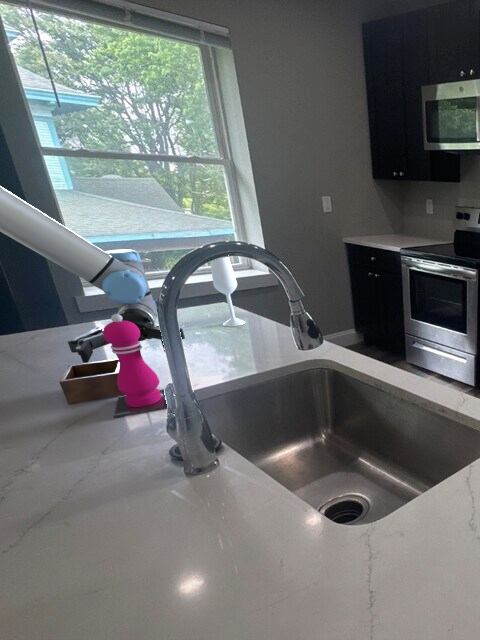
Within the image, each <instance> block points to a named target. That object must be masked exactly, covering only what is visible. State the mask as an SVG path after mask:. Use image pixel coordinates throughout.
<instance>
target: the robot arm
mask: <svg viewBox="0 0 480 640" xmlns="http://www.w3.org/2000/svg"><path fill="white" fill-rule="evenodd" d="M0 233H2V234H4V235H6V236H7V237H9V238H11V239H12V240H14V241H16V242H17V243H20V244H21V245H23V246H25V247H27V249H30V250H32V251H34V252H35V253H37V254H39V255H41V256H42V257H44V258H46V259H47V260H49V261H51V262H53V263H54V264H56V265H57V266H60V267H61V268H63V269H65V270H66V271H68V272H70V273H72V274H74V275H75V276H77V277H79V278H80V279H82V280H84V281H86V282H87V283H89V284H91V285H93V287H95V288H97V289H99V290H100V291H102V292H103V293H104V294H105V295H106V296H107V298H108V299H109V300H111V301H112V302H114V303H116V306H117V309H118V312H117V313H116V314H119V315H121V316H122V320H123V321H129V322H132V323H134V324H135V325H136V326H137V327H138V328H139V330H140V337H139V339H138V341H140V342H143V341H146V340H152V339H156V340H160V343H161V345H162V348H163V352H164V353H166V352H165V350H164V345H163V341H162V336H161V332H160V328H159V323H158V324H156V320H157V317H158V314H157V309H158V305H157V303H156V302H155V300H154V298H153V294H152V291H151V289H150V285H149V283H148V279H147V274H146V271H145V268H144V263H143V261H142V259H141V256H140V253H139V252H138V251H137V250H134V249H112V250H106V251H104V250H103V249H101V248H100V247H98V246H97V245H95V244H93V243H92V242H90V241H89V240H87V239H86V238H84V237H82V236H81V235H79V234H77V233H76V232H74V231H73V230H71V229H70V228H68V227H67V226H65V225H63V224H61V222H60V223H59V222H58V221H56V219H54V218H52V217H50V216H49V215H47V214H46V213H44V212H42V211H41V210H39V209H38V208H36V207H35V206H33V205H31V204H29V203H28V202H26V200H23V199H21V198H20V197H18V196H17V195H16V194H14V193H12V192H11V191H9V190H8V189H6V188H4V187H2V186H1V185H0ZM180 332H181V337H182V340H185V339H186V336H185V333H184V329H183V328H182V327H180ZM67 344H68V347H69V350H70V352H71V353H74V354H75V353H77V356H80V359H81V361H82V364H83V363H89V362H90V359H91V357H92V355H93V353H94V350H96V349H99V348H102V347H104V346H107V345H109V344H110V343H109V342H107V341H106V340H105V338H104V336H103V328H102V327H100V326H96V327H93V328H92V329H91V330H89V331H87V332H84V333H82V334H80V335H78V336H76V337H74V338H71V339H69V340H67ZM110 345H111V344H110Z"/></svg>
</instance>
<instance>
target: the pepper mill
mask: <svg viewBox="0 0 480 640" xmlns="http://www.w3.org/2000/svg"><path fill="white" fill-rule="evenodd" d="M110 319H111V321H110V322H109V323H107V324H105V326H104V327H103V328H102V330H103V336H104V338H105V340H106V341H107V342H109V343H110V349H111V352H112V353H113V354H114V355H116V357H117V359H118V360H119V364H120V368H119V373H118V378H117V385H118V389H119V390H120V391H121V392H122V393H124V394H126V395H124V396H125V400H126V403H127V405H128V406H130V407H143V406H148V405H151V404H154V403H156V402H158V401H159V400H160V399H161V393H160V390H161V389H159V388H158V386H159V385H160V379H159V377H158V375H157V373H156V372H155V370H154V369H152V368H151V367H150V366H149V365H148V364H147V362H146V361H145V360H144V358H143V356H142V352H141V350H142V348H143V345H141V344H142V343H141V341H138V339H139V337H140V330H139V328H138V327H137V326H136V325H135V324H134V323H132V322H129V321H123V320H122V316H121V315H119V314H117V313H114V314H112V315H111V316H110Z"/></svg>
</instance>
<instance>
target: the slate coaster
mask: <svg viewBox="0 0 480 640" xmlns="http://www.w3.org/2000/svg"><path fill="white" fill-rule="evenodd" d="M164 389H165V388H164ZM164 389H159V390H160V393H161V399H160V400H159V401H158V402H156V403H154V404H151V405H148V406H143V407H130V406H128V405H127V403H126V400H125V396H126V395H122V396H118V397H117V402H116V405H115V409H114V413H113V418H114V419H117V418H123V417H128V416H129V417H130V416H134V415H138V414H144V413H149V412H155V411H161V410H166V409H168V408H167V404H166V400H165V395H164Z"/></svg>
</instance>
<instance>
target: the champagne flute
mask: <svg viewBox="0 0 480 640" xmlns="http://www.w3.org/2000/svg"><path fill="white" fill-rule="evenodd" d="M209 262H210V261H209ZM210 270H211V276H212V284H213V288H214V289H215V290H217V291H218V292H219V293H221V294H222V295H225V297H226V301H227V307H228V310H229V316H230V318H229V319H228V320H226V321H225V322H223V324H222V326H224V327H238V326H241V325H242V326H243V325H244V324H246V320H243V319H240V318H239V317H236V315H235V310H234V306H233V302H232V297H231V294H233V293H234V291H235V290H236V289H237V287H238V281H237V278H236V274H235V271H234V268H233V266H232V263H231V259H230V256H229V257H225V258H219V259H217V260H215V261H212V262H210Z"/></svg>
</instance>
